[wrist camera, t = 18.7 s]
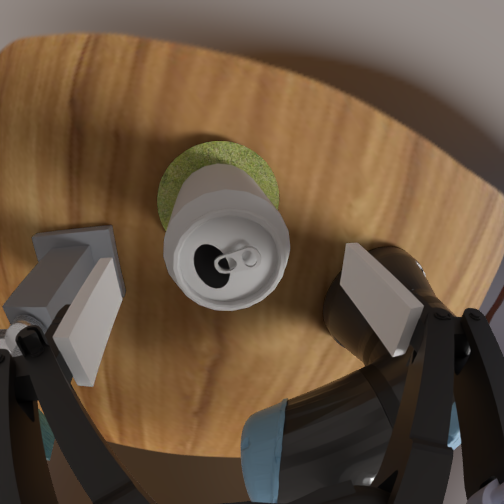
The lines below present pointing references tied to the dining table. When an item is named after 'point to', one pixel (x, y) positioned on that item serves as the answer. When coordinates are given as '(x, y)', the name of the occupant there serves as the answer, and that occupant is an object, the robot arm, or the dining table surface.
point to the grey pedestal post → (61, 271)
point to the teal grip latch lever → (7, 341)
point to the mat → (208, 156)
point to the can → (225, 240)
